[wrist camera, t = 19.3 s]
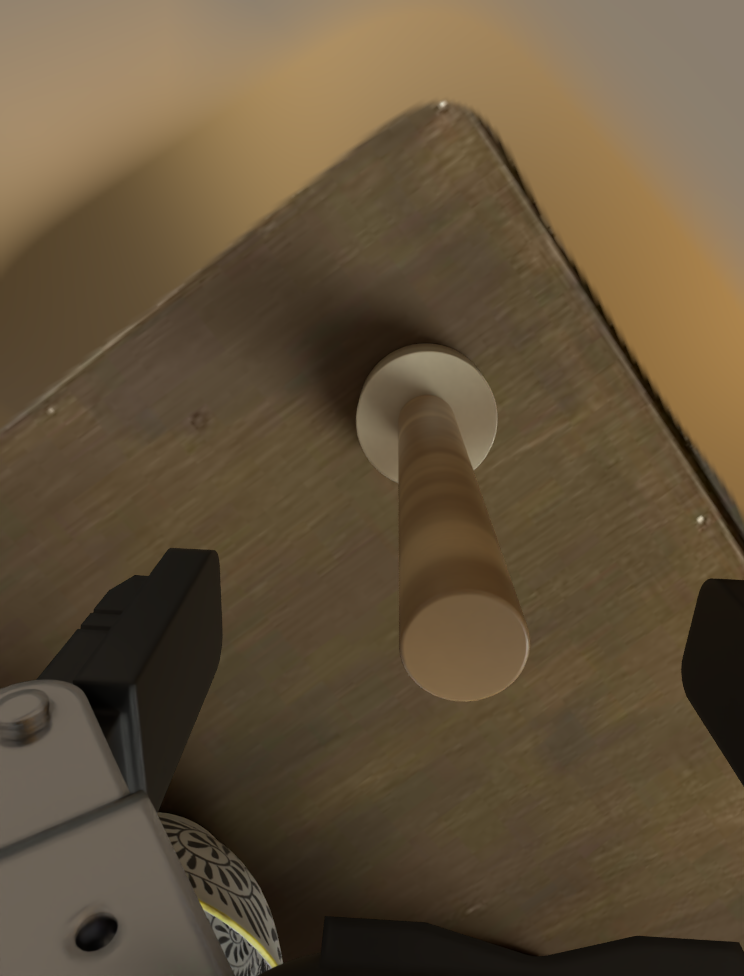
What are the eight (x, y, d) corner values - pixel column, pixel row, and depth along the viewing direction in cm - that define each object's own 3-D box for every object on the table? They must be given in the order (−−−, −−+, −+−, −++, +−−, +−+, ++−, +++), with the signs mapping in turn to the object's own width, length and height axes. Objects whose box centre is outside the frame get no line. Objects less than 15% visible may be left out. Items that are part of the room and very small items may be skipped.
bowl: (38, 690, 30) (-72, 825, 23) (364, 794, 32) (354, 951, 24) (-15, 921, 35) (-118, 1087, 28) (265, 1001, 37) (234, 1180, 30)
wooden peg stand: (335, 379, 25) (240, 579, 10) (457, 319, 24) (561, 437, 9) (393, 492, 26) (389, 817, 11) (510, 439, 25) (677, 715, 10)
